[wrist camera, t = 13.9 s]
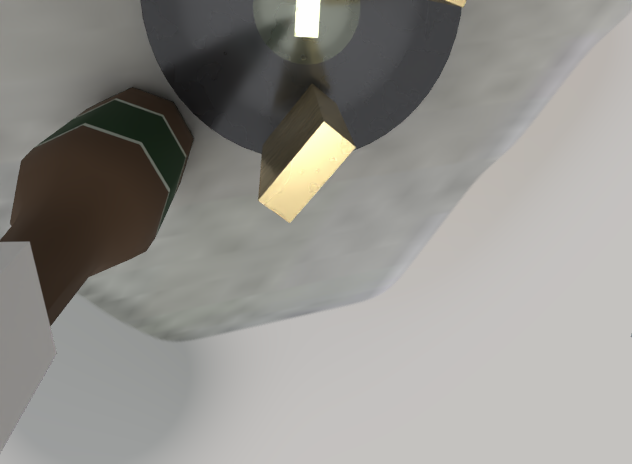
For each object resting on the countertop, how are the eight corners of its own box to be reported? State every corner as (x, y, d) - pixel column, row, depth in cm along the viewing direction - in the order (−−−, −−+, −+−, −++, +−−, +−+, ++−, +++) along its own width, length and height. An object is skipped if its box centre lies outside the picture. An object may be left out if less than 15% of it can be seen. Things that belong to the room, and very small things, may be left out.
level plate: (129, -206, 31) (102, -238, 26) (486, -173, 33) (521, -198, 28) (154, 149, 40) (137, 174, 35) (432, 160, 42) (452, 184, 37)
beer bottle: (217, 136, 40) (147, 332, 18) (153, 207, 42) (21, 459, 20) (129, 60, 37) (-75, 185, 16) (65, 141, 39) (-193, 349, 18)
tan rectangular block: (312, 83, 37) (323, 121, 28) (336, 103, 38) (355, 147, 29) (262, 144, 39) (258, 200, 30) (286, 162, 40) (289, 223, 30)
